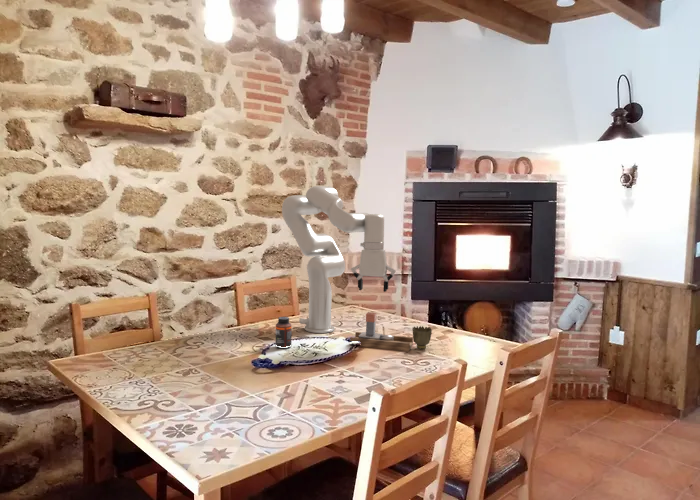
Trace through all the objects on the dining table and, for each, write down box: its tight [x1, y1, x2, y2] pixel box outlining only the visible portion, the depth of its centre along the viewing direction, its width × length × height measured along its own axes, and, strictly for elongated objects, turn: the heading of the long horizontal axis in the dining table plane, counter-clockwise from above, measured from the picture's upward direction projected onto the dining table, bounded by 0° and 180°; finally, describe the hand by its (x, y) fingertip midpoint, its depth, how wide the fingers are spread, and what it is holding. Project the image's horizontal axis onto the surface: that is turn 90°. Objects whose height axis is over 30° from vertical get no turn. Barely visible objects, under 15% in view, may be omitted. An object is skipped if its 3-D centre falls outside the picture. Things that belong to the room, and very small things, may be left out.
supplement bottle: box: [275, 316, 293, 347], centre depth 210 cm, size 6×6×11 cm
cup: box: [411, 325, 433, 350], centre depth 214 cm, size 8×7×8 cm
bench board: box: [349, 331, 414, 352], centre depth 218 cm, size 23×10×3 cm, turn 75°
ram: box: [359, 311, 395, 341], centre depth 218 cm, size 13×6×10 cm, turn 75°
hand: (372, 290), depth 216 cm, fingers open, 9 cm apart
